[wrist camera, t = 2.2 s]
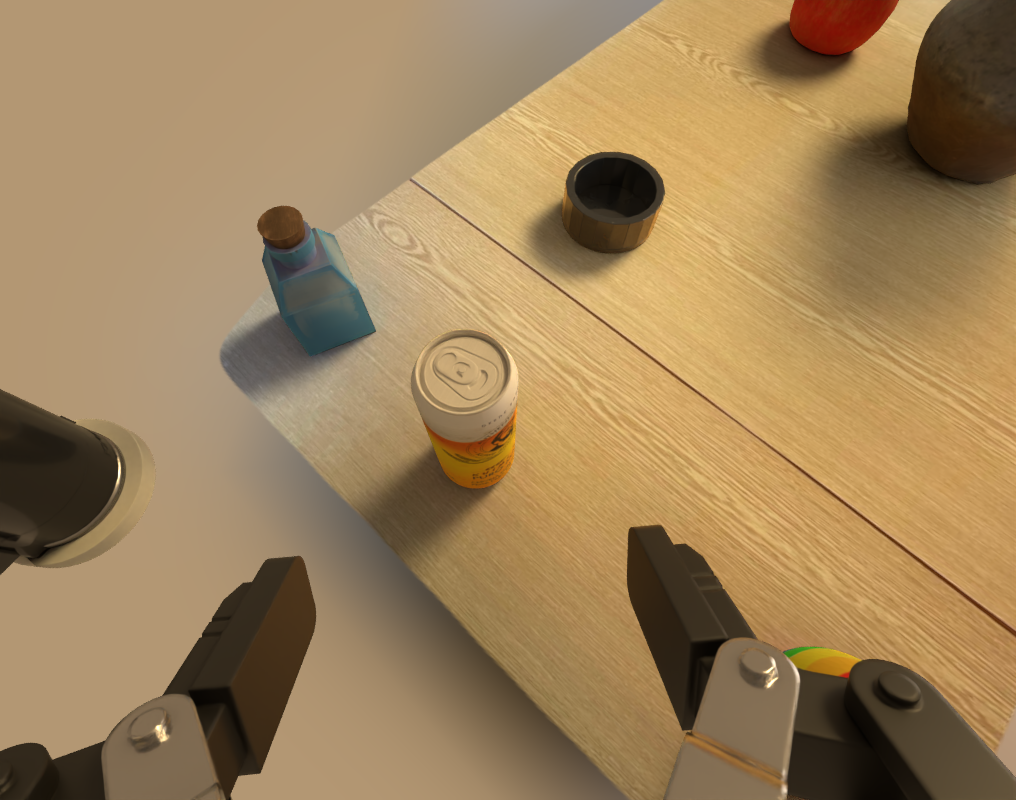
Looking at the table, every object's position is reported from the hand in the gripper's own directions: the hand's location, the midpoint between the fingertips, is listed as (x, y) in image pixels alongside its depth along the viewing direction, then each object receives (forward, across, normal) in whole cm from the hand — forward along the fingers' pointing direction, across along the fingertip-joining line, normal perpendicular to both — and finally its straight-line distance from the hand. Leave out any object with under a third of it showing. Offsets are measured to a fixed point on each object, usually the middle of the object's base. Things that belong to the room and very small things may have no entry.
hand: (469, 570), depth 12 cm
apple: (+64, -47, -26) cm, 83 cm away
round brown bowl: (+44, -14, -7) cm, 47 cm away
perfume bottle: (+37, +13, 0) cm, 39 cm away
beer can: (+27, 0, +10) cm, 29 cm away
